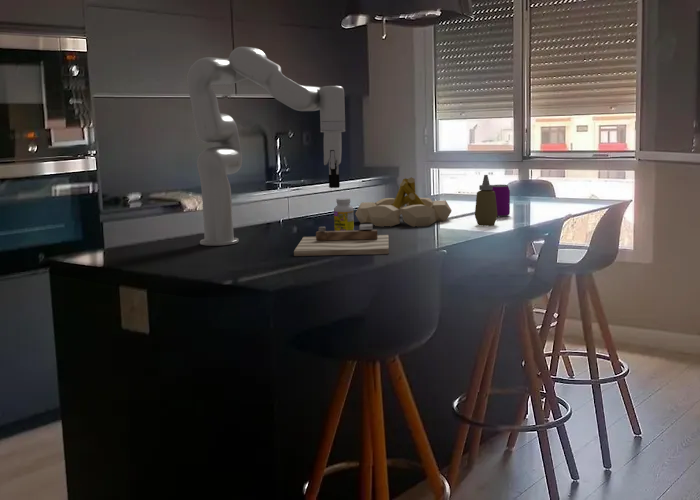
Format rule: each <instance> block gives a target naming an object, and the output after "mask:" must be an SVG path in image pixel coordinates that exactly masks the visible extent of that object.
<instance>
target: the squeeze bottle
mask: <svg viewBox="0 0 700 500" xmlns="http://www.w3.org/2000/svg"><path fill="white" fill-rule="evenodd" d="M493 185H494V184H490V179H489V176H488V174H484V175H483V179H482V184H479V187H478V189H479V190H478V191H477V192H476V198H475V207H474V208H475V209H474V217H475V221H476V222H477V225H478V226H481V227H491V226H494V225H495V224H496V220H497V218H498V217H497V205H496V196H495V192H494V191H492V189H493Z"/></svg>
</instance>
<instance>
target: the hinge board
mask: <svg viewBox="0 0 700 500" xmlns="http://www.w3.org/2000/svg"><path fill="white" fill-rule="evenodd" d="M373 227H374V224H373V223H360V224H359V230H374V229H373ZM318 231H327V230H326V226H319V227H318ZM377 238H378V239H353V240H324V241H318V240H316V236H303V237H302V239H301V240H300V242H299V243H298V244H297V246H296V247H295V249H294V251H293V257H306V256H307V257H309V256H347V255H351V256H352V255H355V256H356V255H358V256H359V255H389V251H390V250H389V249H390V248H389V243H390V242H389V238H390V237H389V234H377Z"/></svg>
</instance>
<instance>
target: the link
mask: <svg viewBox="0 0 700 500" xmlns="http://www.w3.org/2000/svg"><path fill="white" fill-rule="evenodd" d="M377 235H378V229H373V230H360V229H359V230H358V229H357V230H356V229H354V230H347V231H334V230H326V231H319V230H318V231H316V232H315V237H316V240H318V241H324V240H353V239H378V238H377Z"/></svg>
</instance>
